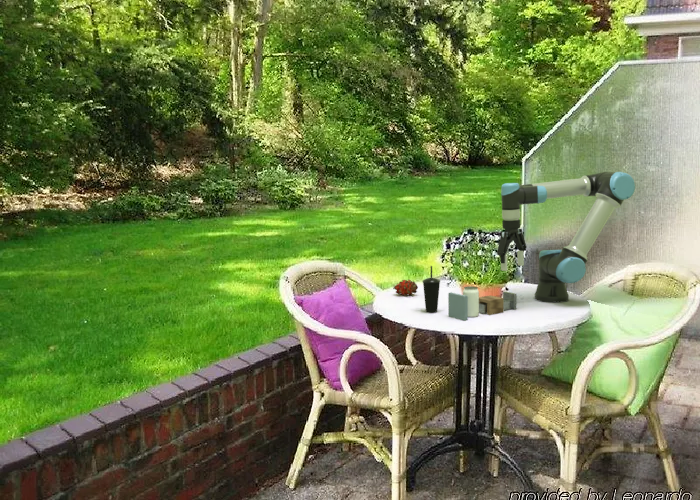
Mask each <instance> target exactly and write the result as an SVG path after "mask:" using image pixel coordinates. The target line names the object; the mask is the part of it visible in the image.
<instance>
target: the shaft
mask: <svg viewBox="0 0 700 500" xmlns="http://www.w3.org/2000/svg"><path fill="white" fill-rule="evenodd" d="M517 297H518V296H517V293H515V292H514V293H513V292H510V291H503V292H502V298H504V300H503V311H506V310H511V309H512V310H517V303H518V301H517ZM479 313H481V314H487V303H480V304H479Z"/></svg>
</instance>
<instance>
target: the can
mask: <svg viewBox="0 0 700 500" xmlns="http://www.w3.org/2000/svg"><path fill="white" fill-rule="evenodd" d="M463 288H464V289H463V291H462V295H465V296H468V318H478V316H479V315H480V314H479V313H480V312H479V297H480V293H479V289H478V288H479V287H477V286H473V285H471V286H464V287H463Z"/></svg>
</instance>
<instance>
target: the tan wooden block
mask: <svg viewBox="0 0 700 500" xmlns="http://www.w3.org/2000/svg"><path fill="white" fill-rule="evenodd" d="M503 300H504V298H503V297H500V296H496V295H495V296H494V295H485V296H484V295H483V296H479V304H480V303H487V313H486V315H487V316H492V315H497V314H502V313H504V310H503Z"/></svg>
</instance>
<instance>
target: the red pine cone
mask: <svg viewBox="0 0 700 500" xmlns="http://www.w3.org/2000/svg"><path fill="white" fill-rule="evenodd" d="M418 288H419V286H418V285H417V283H416V282H415V281H413V280H412V279H407V280H406V279H402V280H401V281H399V282H398V283H397V284H396V285H394V286H393V289H392V290H395V293H396V294H398V295H399V296H404V297H407V296H409V297H410V296H411V297H412V295H413V294H417V292H418Z"/></svg>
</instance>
